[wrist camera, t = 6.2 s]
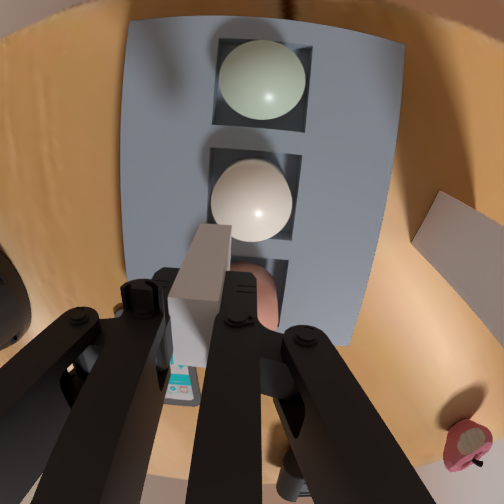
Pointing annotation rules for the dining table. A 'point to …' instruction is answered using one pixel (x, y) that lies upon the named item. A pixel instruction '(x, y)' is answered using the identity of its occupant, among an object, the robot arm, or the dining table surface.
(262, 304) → the button terracotta
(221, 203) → the button cream
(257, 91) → the button sage
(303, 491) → the end cap
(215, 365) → the robot arm
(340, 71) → the console
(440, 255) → the milk
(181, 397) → the smartphone
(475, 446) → the apple
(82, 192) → the dining table surface
